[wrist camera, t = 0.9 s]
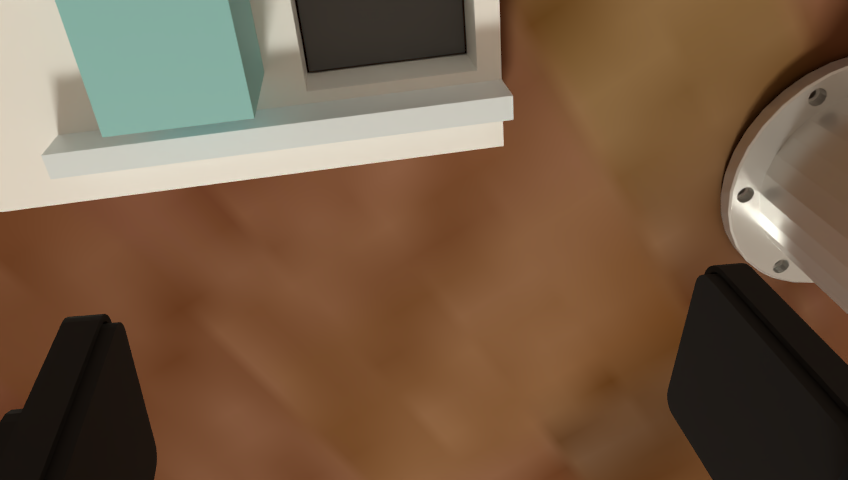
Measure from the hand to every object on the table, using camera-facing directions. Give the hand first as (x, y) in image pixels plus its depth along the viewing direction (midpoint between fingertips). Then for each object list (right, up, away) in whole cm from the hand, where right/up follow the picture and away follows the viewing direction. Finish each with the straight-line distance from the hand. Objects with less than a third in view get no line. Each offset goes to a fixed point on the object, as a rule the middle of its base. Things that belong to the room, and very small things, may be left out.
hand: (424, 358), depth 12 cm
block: (-9, +10, +15) cm, 20 cm away
